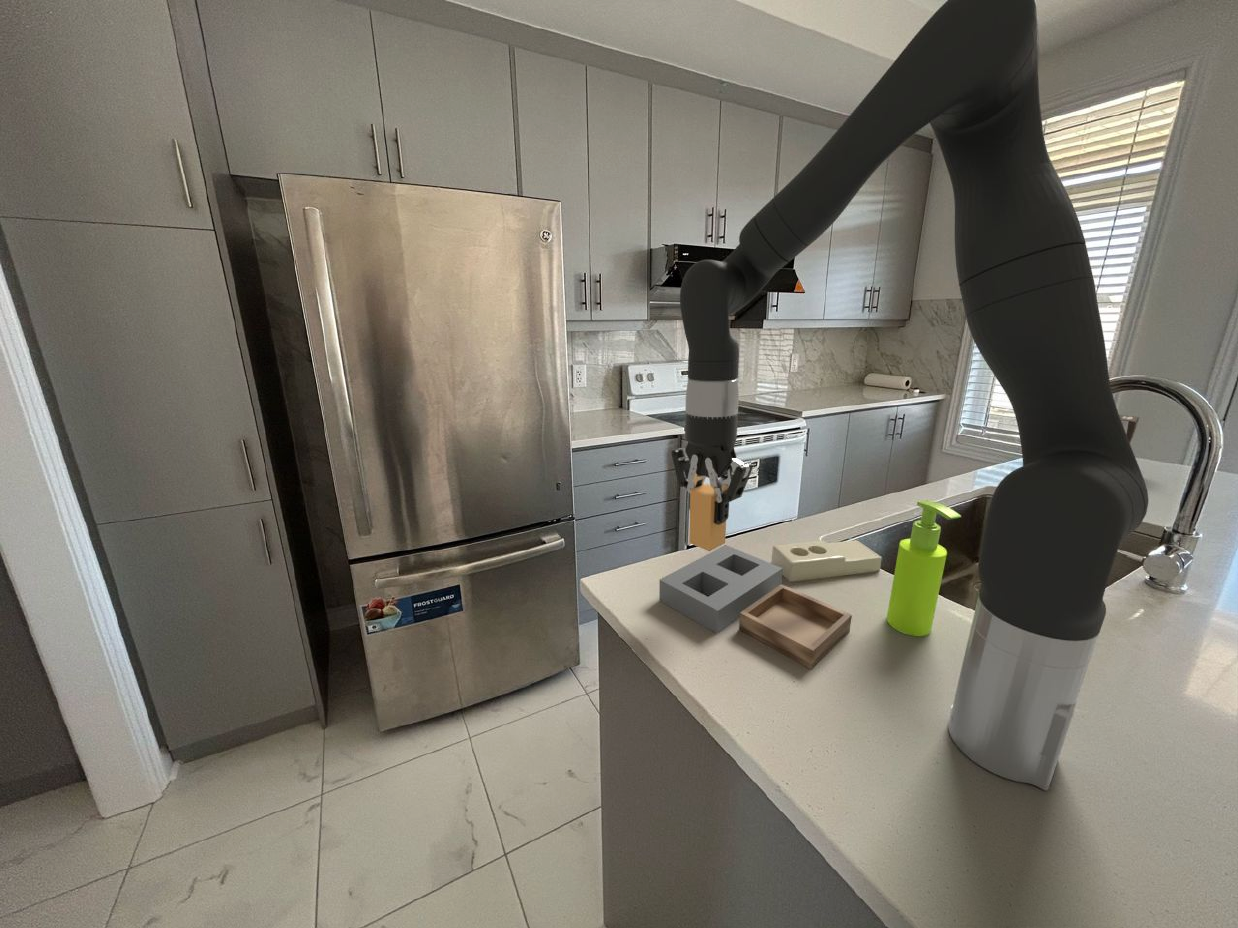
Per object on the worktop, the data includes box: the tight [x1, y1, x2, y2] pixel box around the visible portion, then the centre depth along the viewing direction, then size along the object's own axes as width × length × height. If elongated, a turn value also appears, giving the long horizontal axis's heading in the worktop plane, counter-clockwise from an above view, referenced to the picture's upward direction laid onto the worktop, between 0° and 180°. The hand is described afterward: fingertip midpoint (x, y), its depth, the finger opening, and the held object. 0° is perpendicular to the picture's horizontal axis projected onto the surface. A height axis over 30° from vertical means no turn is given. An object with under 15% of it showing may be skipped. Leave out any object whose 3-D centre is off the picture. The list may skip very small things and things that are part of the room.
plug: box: [688, 483, 727, 552], centre depth 74 cm, size 4×4×9 cm
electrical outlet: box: [770, 539, 883, 582], centre depth 90 cm, size 7×4×18 cm
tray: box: [738, 583, 853, 670], centre depth 72 cm, size 12×12×3 cm
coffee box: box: [1119, 414, 1140, 445], centre depth 135 cm, size 9×6×16 cm
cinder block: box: [658, 544, 783, 634], centre depth 81 cm, size 12×18×4 cm, turn 131°
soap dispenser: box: [886, 500, 962, 637], centre depth 70 cm, size 6×7×20 cm
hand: (707, 517), depth 74 cm, fingers closed on plug, 4 cm apart
